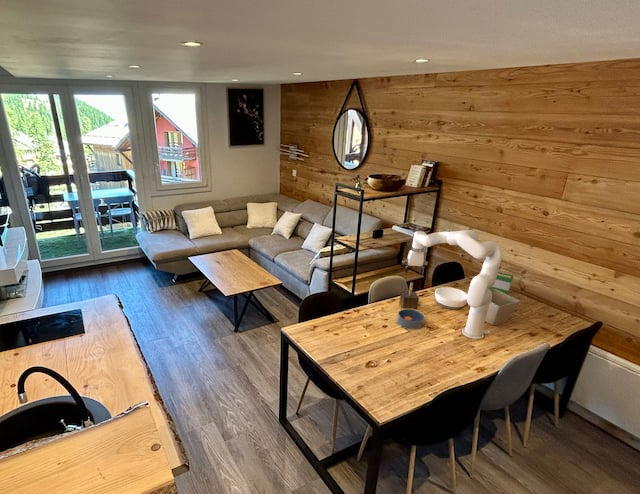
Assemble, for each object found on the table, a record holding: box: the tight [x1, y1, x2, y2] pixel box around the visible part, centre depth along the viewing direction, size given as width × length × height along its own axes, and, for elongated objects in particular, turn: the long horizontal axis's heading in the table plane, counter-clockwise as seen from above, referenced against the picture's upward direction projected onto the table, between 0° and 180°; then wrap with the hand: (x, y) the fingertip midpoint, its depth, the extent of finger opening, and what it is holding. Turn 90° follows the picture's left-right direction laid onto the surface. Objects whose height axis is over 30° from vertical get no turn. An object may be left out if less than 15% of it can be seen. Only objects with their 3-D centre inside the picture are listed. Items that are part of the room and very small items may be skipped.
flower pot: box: [485, 289, 521, 326], centre depth 258 cm, size 19×19×17 cm
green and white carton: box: [488, 271, 515, 295], centre depth 277 cm, size 18×7×24 cm, turn 52°
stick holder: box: [398, 290, 420, 310], centre depth 275 cm, size 10×10×9 cm
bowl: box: [434, 286, 468, 311], centre depth 279 cm, size 22×22×8 cm
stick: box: [408, 281, 414, 296], centre depth 274 cm, size 2×2×18 cm
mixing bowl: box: [396, 308, 425, 330], centre depth 254 cm, size 16×16×6 cm
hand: (413, 272), depth 267 cm, fingers open, 9 cm apart
